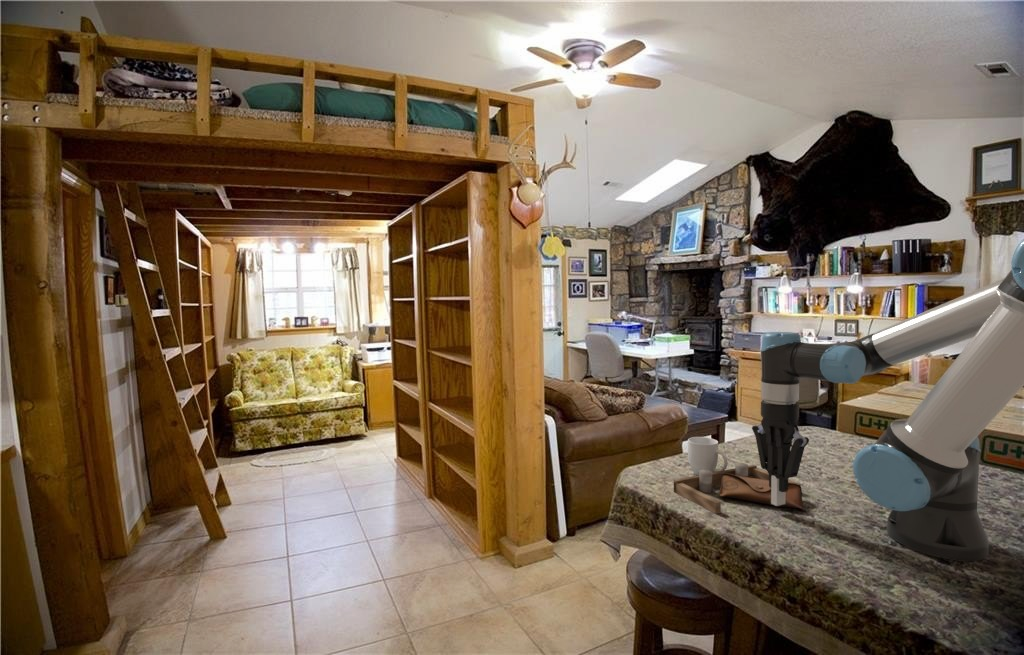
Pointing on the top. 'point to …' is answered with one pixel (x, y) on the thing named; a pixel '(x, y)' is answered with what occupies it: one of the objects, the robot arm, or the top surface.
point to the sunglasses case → (757, 490)
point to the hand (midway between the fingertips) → (778, 503)
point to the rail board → (709, 479)
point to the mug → (704, 454)
